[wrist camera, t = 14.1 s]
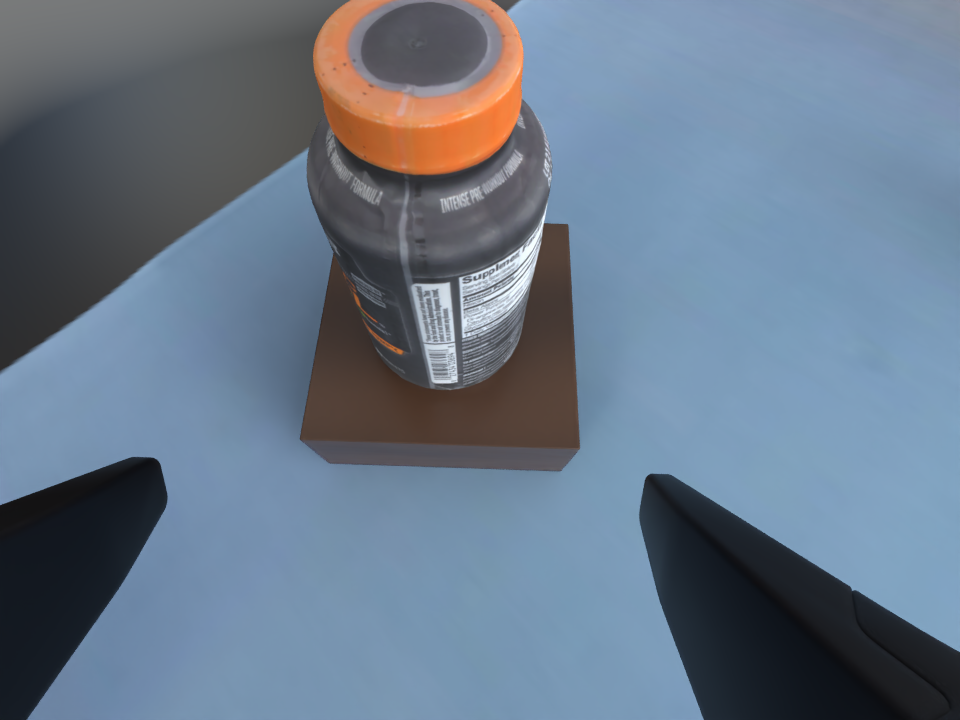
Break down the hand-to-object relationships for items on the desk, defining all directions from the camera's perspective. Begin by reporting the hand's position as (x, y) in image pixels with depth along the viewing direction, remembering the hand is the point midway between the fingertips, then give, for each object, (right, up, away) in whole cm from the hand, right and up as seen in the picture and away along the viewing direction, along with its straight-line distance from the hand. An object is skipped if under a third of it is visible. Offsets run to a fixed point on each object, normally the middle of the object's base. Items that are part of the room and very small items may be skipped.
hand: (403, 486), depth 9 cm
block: (0, +2, +14) cm, 14 cm away
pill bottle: (0, +4, +11) cm, 11 cm away
